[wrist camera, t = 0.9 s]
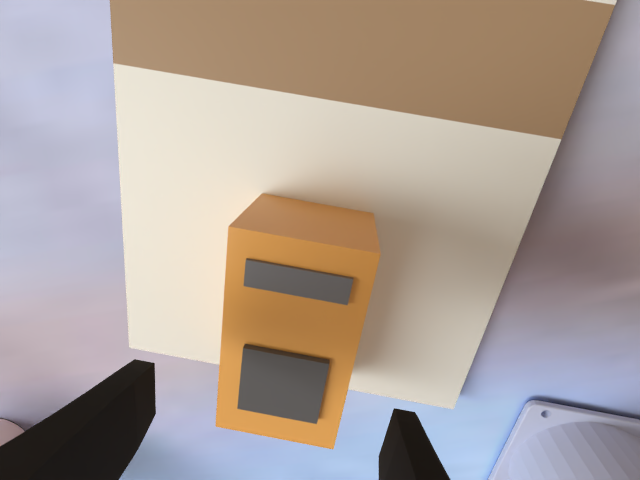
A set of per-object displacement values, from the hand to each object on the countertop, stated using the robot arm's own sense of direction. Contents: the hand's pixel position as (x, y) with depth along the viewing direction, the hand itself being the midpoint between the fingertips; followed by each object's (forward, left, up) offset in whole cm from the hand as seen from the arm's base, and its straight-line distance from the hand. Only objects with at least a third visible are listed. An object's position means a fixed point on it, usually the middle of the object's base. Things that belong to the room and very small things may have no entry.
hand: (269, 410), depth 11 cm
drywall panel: (0, -6, -8) cm, 10 cm away
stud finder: (0, 0, -7) cm, 7 cm away
